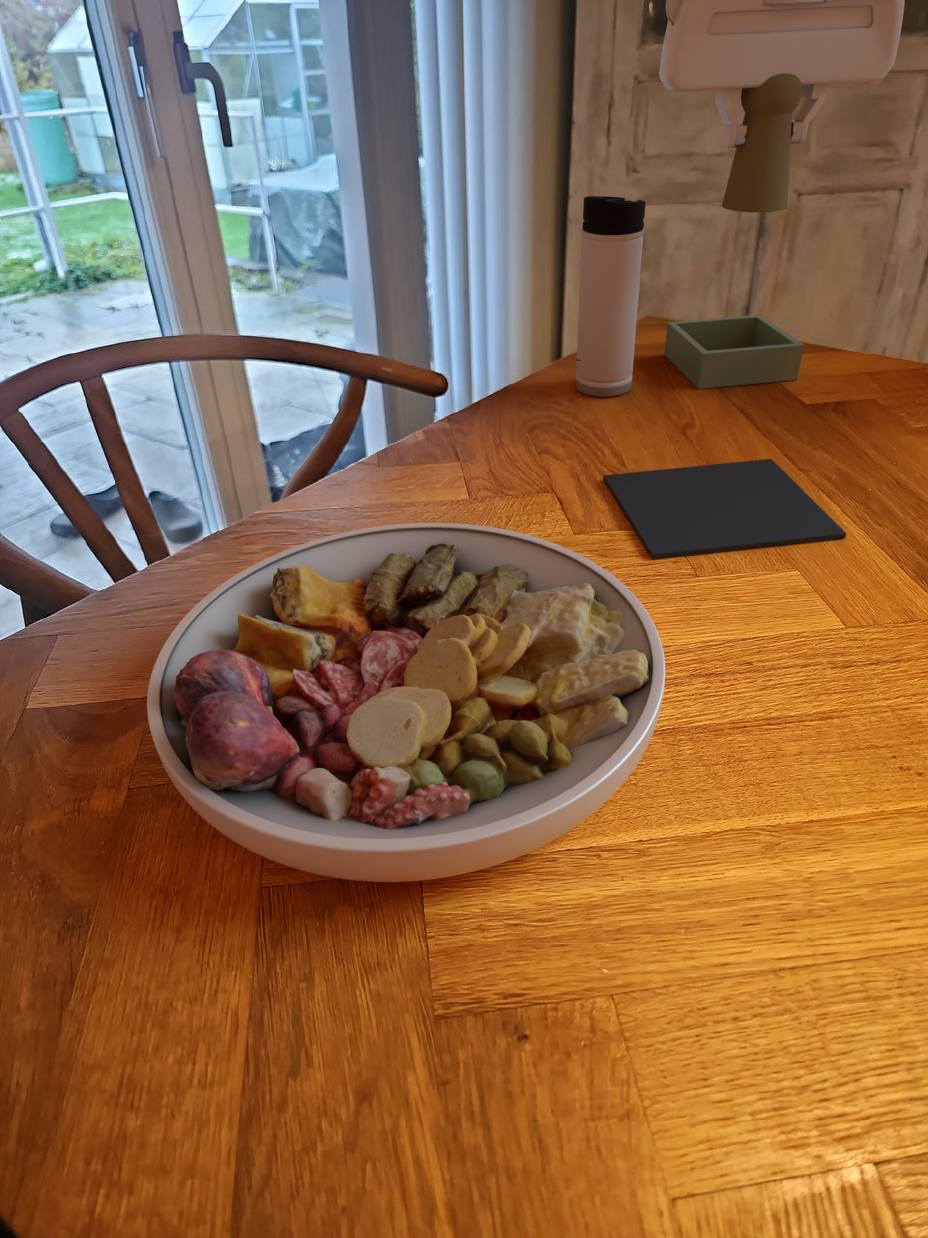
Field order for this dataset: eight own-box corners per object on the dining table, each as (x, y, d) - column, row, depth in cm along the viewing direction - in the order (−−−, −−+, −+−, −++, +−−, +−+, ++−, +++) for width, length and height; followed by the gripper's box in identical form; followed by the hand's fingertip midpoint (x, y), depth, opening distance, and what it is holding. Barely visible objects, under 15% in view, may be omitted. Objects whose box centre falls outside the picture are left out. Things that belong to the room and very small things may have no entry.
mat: (770, 463, 79) (771, 458, 79) (845, 538, 68) (847, 533, 67) (603, 480, 78) (603, 474, 77) (651, 559, 66) (652, 554, 66)
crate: (754, 347, 105) (760, 314, 102) (797, 380, 96) (804, 344, 93) (664, 355, 104) (667, 321, 101) (698, 389, 94) (702, 353, 92)
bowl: (428, 537, 70) (421, 449, 66) (754, 701, 53) (776, 596, 48) (81, 716, 54) (40, 616, 49) (385, 1044, 36) (365, 935, 31)
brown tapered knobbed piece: (709, 207, 81) (726, 70, 74) (741, 197, 84) (759, 65, 78) (768, 214, 77) (791, 71, 71) (799, 203, 81) (823, 66, 74)
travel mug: (562, 389, 96) (567, 194, 84) (599, 373, 99) (610, 184, 88) (605, 403, 92) (617, 201, 80) (642, 386, 96) (659, 190, 84)
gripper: (683, -45, 66) (664, 156, 74) (931, -55, 68) (886, 142, 76) (657, -41, 71) (643, 146, 79) (889, -50, 73) (851, 134, 81)
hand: (763, 144), depth 78 cm, fingers closed on brown tapered knobbed piece, 4 cm apart
